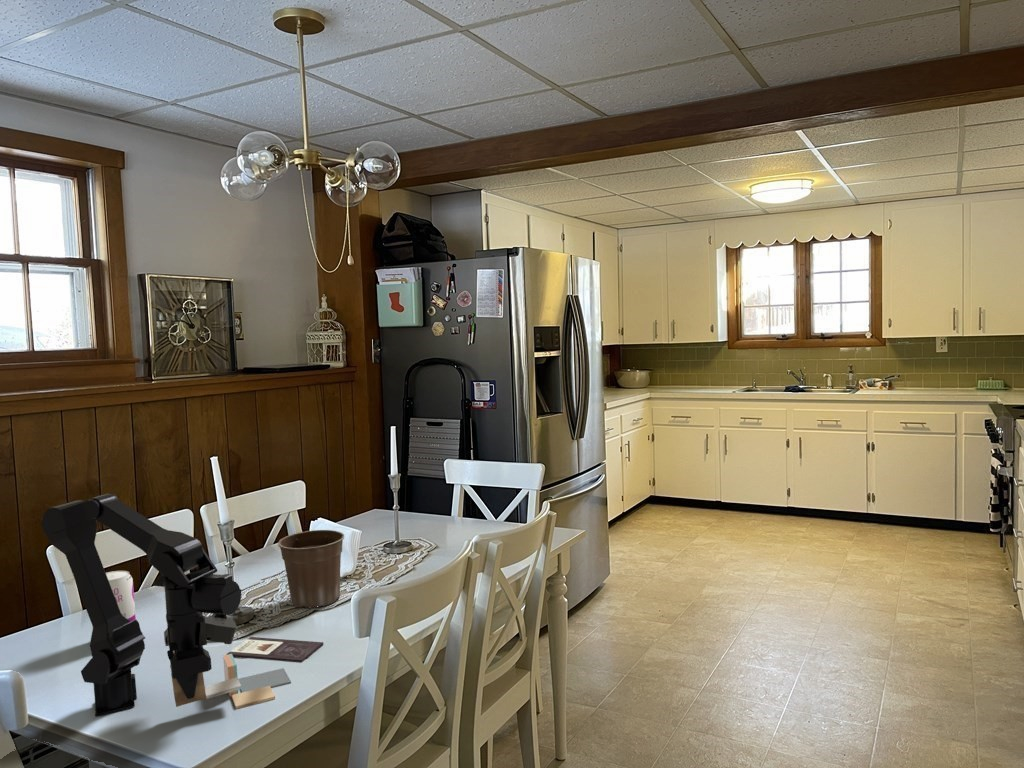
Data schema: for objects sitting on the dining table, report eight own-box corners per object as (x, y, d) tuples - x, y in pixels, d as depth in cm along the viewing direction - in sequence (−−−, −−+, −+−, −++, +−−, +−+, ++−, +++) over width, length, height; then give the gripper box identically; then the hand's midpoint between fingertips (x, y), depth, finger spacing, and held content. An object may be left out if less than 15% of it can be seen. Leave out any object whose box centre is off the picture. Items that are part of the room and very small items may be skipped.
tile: (229, 697, 145) (227, 667, 145) (225, 685, 151) (223, 655, 150) (238, 695, 146) (236, 665, 146) (233, 683, 152) (231, 653, 151)
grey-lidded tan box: (176, 708, 136) (172, 681, 135) (174, 698, 139) (170, 672, 139) (241, 688, 141) (237, 662, 140) (238, 680, 144) (234, 654, 144)
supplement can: (129, 629, 181) (124, 567, 180) (142, 639, 175) (137, 574, 174) (91, 640, 175) (86, 576, 174) (103, 650, 169) (98, 584, 168)
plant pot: (299, 617, 185) (295, 551, 184) (271, 601, 197) (267, 539, 196) (359, 599, 196) (356, 537, 194) (328, 585, 208) (325, 526, 206)
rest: (236, 709, 141) (235, 706, 141) (231, 698, 145) (231, 695, 145) (275, 699, 144) (275, 696, 144) (270, 688, 148) (269, 685, 148)
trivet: (242, 695, 146) (242, 693, 146) (237, 680, 152) (237, 679, 152) (291, 683, 150) (291, 681, 150) (283, 669, 156) (283, 668, 156)
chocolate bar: (302, 660, 160) (226, 654, 164) (302, 664, 160) (226, 658, 164) (323, 642, 168) (250, 636, 173) (323, 646, 168) (251, 640, 173)
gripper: (239, 617, 133) (245, 704, 134) (224, 586, 149) (229, 664, 151) (169, 631, 128) (175, 721, 129) (161, 597, 144) (167, 678, 145)
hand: (189, 694), depth 139 cm, fingers closed on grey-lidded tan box, 3 cm apart
